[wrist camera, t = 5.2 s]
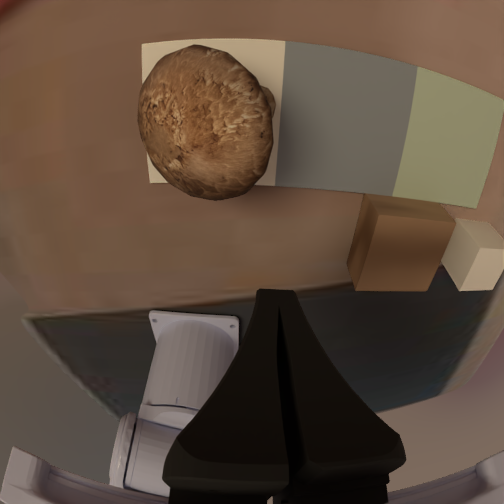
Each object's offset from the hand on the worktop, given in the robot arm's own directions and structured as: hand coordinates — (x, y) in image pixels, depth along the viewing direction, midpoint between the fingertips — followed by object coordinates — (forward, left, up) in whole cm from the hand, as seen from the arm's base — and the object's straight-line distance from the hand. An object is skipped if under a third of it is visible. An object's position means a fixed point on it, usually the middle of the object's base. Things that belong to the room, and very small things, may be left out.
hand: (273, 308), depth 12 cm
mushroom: (+5, +4, -10) cm, 12 cm away
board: (+5, -4, -10) cm, 12 cm away
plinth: (-2, -9, -10) cm, 14 cm away
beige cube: (-3, -15, -8) cm, 17 cm away
